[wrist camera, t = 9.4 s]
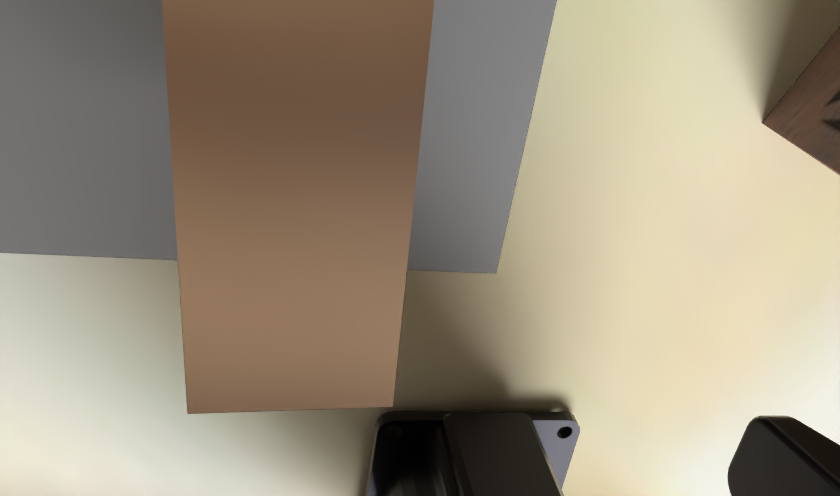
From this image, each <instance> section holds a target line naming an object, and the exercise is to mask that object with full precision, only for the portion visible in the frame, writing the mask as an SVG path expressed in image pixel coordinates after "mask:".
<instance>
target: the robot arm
mask: <svg viewBox="0 0 840 496" xmlns="http://www.w3.org/2000/svg"><path fill="white" fill-rule="evenodd" d="M565 426H567V427H565ZM390 427H398V428H397V429H395V430H387V429H389V428H390ZM562 427H565V428H564V429H561V430H559V429H560V428H562ZM579 432H580V427H579V425H578V423H577V421H576V419H575V417H574V415H572V414H571V413H568V412H445V411H393V412H387V413H385V414H383V415H381V416H380V417H379V418H378V420H377V422H376V425H375V432H374V439H373V445H372V452H371V458H370V465H369V471H368V478H367V484H366V491H365V496H564V495H563V492H562V490H561V489H562V486H563V483H564V480H565V477H566V473H567V470H568V467H569V464H570V461H571V458H572V454H573V451H574V448H575V445H576V442H577V439H578V436H579ZM728 485H729V489H730V493H731V495H732V496H840V445H838V444H837V443H835V442H833V441H832V440H830V439H828V438H827V437H825V436H823V435H822V434H820V433H818V432H817V431H815V430H813V429H812V428H810V427H808V426H806V425H805V424H803V423H801V422H800V421H798V420H796V419H794V418H792V417H789V416H758V417H755V418H754V419H753V420H752V421H750V422H749V424H748V426H747V428H746V430H745V432H744V435H743V437H742V439H741V441H740V443H739V446H738V448H737V450H736V452H735V455H734V457H733V459H732V461H731V463H730V466H729V470H728Z"/></svg>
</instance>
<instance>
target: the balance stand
mask: <svg viewBox="0 0 840 496" xmlns="http://www.w3.org/2000/svg"><path fill="white" fill-rule="evenodd" d="M556 1H557V0H434V10H433V20H432V30H431V39H430V49H429V59H428V69H427V78H426V88H425V98H424V108H423V117H422V127H421V137H420V147H419V156H418V166H417V176H416V186H415V195H414V205H413V215H412V224H411V234H410V244H409V254H408V263H407V270H424V271H448V272H472V273H496V271H497V267H498V262H499V258H500V253H501V249H502V244H503V240H504V235H505V231H506V226H507V222H508V217H509V213H510V208H511V204H512V199H513V195H514V190H515V186H516V181H517V177H518V172H519V168H520V163H521V159H522V154H523V150H524V145H525V141H526V136H527V132H528V127H529V123H530V118H531V114H532V109H533V105H534V100H535V96H536V91H537V87H538V82H539V78H540V73H541V69H542V64H543V60H544V55H545V51H546V46H547V42H548V37H549V33H550V28H551V24H552V19H553V15H554V10H555V6H556ZM0 253H19V254H43V255H67V256H91V257H115V258H138V259H162V260H178V253H177V237H176V221H175V205H174V189H173V173H172V157H171V141H170V125H169V109H168V93H167V77H166V61H165V45H164V29H163V13H162V0H0Z"/></svg>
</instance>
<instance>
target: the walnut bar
mask: <svg viewBox="0 0 840 496" xmlns="http://www.w3.org/2000/svg"><path fill="white" fill-rule="evenodd" d="M433 10H434V0H162V13H163V29H164V45H165V61H166V77H167V93H168V109H169V125H170V141H171V157H172V173H173V189H174V205H175V221H176V237H177V253H178V269H179V285H180V301H181V317H182V332H183V348H184V364H185V380H186V396H187V412H188V414H197V413H226V412H256V411H285V410H314V409H343V408H372V407H393V400H394V390H395V380H396V371H397V361H398V351H399V341H400V332H401V322H402V312H403V302H404V293H405V283H406V273H407V263H408V254H409V244H410V234H411V224H412V215H413V205H414V195H415V186H416V176H417V166H418V156H419V147H420V137H421V127H422V117H423V108H424V98H425V88H426V78H427V69H428V59H429V49H430V39H431V30H432V20H433Z"/></svg>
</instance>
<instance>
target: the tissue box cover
mask: <svg viewBox="0 0 840 496" xmlns="http://www.w3.org/2000/svg"><path fill="white" fill-rule="evenodd" d="M762 123H763V124H764V125H766V126H767V127H769V128H770V129H771V130H773V131H774V132H776V133H777V134H779V135H780V136H782V137H783V138H785V139H786V140H788V141H789V142H791V143H792V144H794V145H795V146H797V147H798V148H800V149H801V150H803V151H804V152H806V153H807V154H809V155H810V156H812V157H813V158H815V159H816V160H818V161H819V162H821V163H822V164H824V165H825V166H826V167H828V168H829V169H831V170H832V171H834V172H835V173H837V174H838V175H840V27H839V28H838V29H837V30H836V32H835V33H834V34H833V35H832V37H831V38H830V39H829V40H828V42H827V43H826V44H825V45H824V47H823V48H822V49H821V50H820V52H819V53H818V54H817V55H816V56H815V58H814V59H813V60H812V61H811V63H810V64H809V65H808V66H807V68H806V69H805V70H804V71H803V73H802V74H801V75H800V76H799V78H798V79H797V80H796V81H795V83H794V84H793V85H792V86H791V87H790V89H789V90H788V91H787V92H786V94H785V95H784V96H783V97H782V99H781V100H780V101H779V102H778V104H777V105H776V106H775V107H774V109H773V110H772V111H771V112H770V114H769V115H768V116H767V117H766V118H765V120H764V121H763V122H762Z"/></svg>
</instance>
